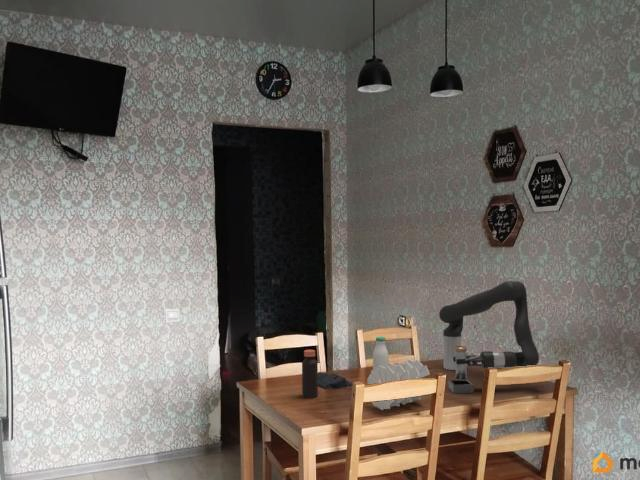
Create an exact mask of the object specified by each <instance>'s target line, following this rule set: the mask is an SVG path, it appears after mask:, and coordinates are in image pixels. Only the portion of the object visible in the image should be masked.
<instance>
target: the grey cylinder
mask: <svg viewBox="0 0 640 480" xmlns="http://www.w3.org/2000/svg"><path fill="white" fill-rule="evenodd" d="M467 350H468V347H467V346H463V345H461V346H455V358H456V360H457V359H466V355H467ZM467 368H468V365H465V364H456V370H455V380H468V376H467V375H468V373H467V370H468V369H467Z"/></svg>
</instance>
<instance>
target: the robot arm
mask: <svg viewBox="0 0 640 480" xmlns="http://www.w3.org/2000/svg"><path fill="white" fill-rule="evenodd" d="M503 302H514V306H515V318H514V323H513V331H514V335H515V339H516V340H515V341H516V343H517V346H519V347H520V349H521V351H518V352H516V351H515V352H514V351H509V350H507V351H499V350H490V351H489V350H488V351H486V350H485V351H483V350H482V351H481V352H480V355H477V354H473V353H472V354H466V359H457V360H456V358H455V346H462V333H463V330H464V317H467V316H473V315H478V314H480V313H481V314H482V313H484V312H486V311H489V310H490V309H491V308H492V307H493V306H494V305H496V304H499V303H503ZM438 315H439V316H438V317H439V319H440V320H441V321H442V322H443V323H445V324H448V326H447V327H446V328H445V329H443V331H442V333H443V334H442V339H443V341H442V342H443V343H442V344H443V345H442V346H443V349H442V351H443V354H442V355H443V360H442V361H443V369H445V370H449V371H456V364H465V365H467V367H468V366H469V367H471V366H473V367H481V368H482V369H489V368H488V367H493V368H492V369H500V368H517V367H516V366H527V365H535V366H537V364H538V363H539V361H540V356H539V352H538V349H537V347H536V344H535V342H534V340H533V336H532V331H531V325H530V321H529V309H528V297H527V288H526V286H525V284H524V283H523V282H521V281H518V280H516V281H515V280H514V281H513V280H508V281H503V282H502V283H500V284H498V285H496V286H494V287H492V288H491V289H488V290H484V291H482V292H479V293H476V294H473V295H471V296H468V297H467V298H465V299H462V300H461V301H458V302H455V303H452V304H448V305H444V306H443V307H442V308H440V310H439V314H438Z"/></svg>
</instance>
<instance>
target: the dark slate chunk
mask: <svg viewBox="0 0 640 480" xmlns="http://www.w3.org/2000/svg"><path fill="white" fill-rule="evenodd" d="M352 385H353V383H352V382H350V381H348V379H347V380H346V377H343V376H339V375H338V374H336V373H327V372H321V371H319V372H318V388H321V389H323V390H335V389H342V388H347V387H349V386H352Z"/></svg>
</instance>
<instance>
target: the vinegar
mask: <svg viewBox="0 0 640 480" xmlns="http://www.w3.org/2000/svg"><path fill="white" fill-rule="evenodd" d="M303 356H304V359H303V361H302V362H301V381H302V382H301V383H302V384H301V385H302V386H301V391H302V392H301V393H302V394H301V396H302V397H303V398H304V399H315V398H317V397H318V395H319V387H318V373H319V372H318V368H319V367H318V361H317V360H316V359H315V357H316V350H314V349H305V350H304V351H303Z"/></svg>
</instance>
